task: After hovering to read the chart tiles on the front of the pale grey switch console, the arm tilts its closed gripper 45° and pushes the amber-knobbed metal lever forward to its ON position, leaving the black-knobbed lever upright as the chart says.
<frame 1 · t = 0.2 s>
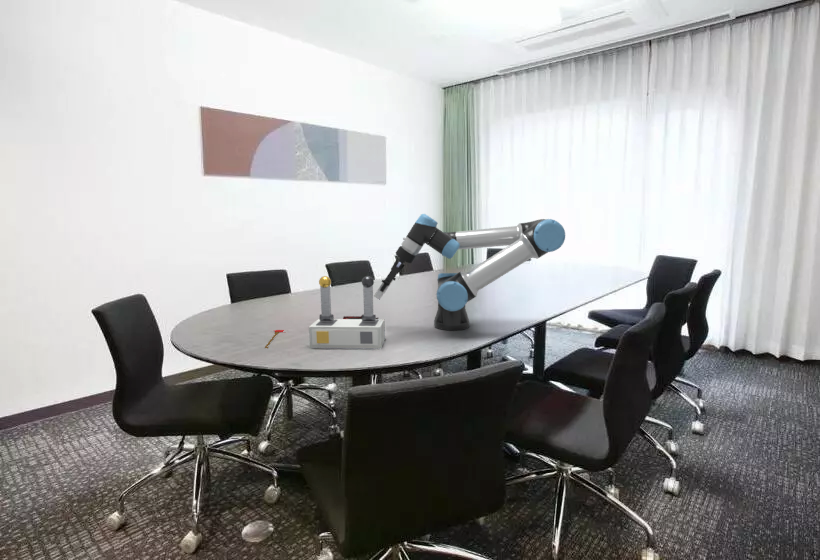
hand: (379, 294, 177), 16 cm above the table, tool tilted 35°, fingers open, 13 cm apart
lever amber: (325, 298, 164), point 17 cm above the table, hinge at 0.0°
submachine gun: (345, 328, 192), on the table
lever black: (368, 298, 163), point 17 cm above the table, hinge at 0.0°
axe: (269, 340, 175), on the table
console: (348, 343, 166), on the table
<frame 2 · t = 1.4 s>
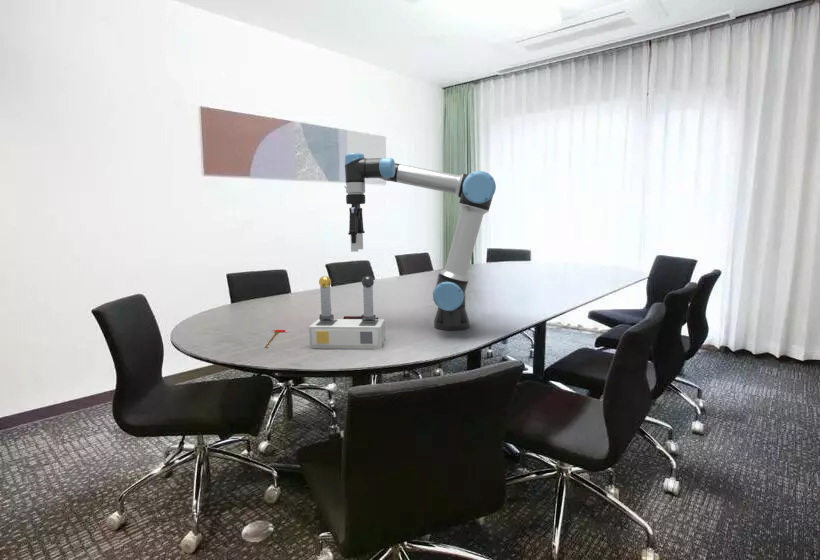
hand: (357, 250, 178), 34 cm above the table, tool pointing down, fingers open, 10 cm apart
nothing on the table moved.
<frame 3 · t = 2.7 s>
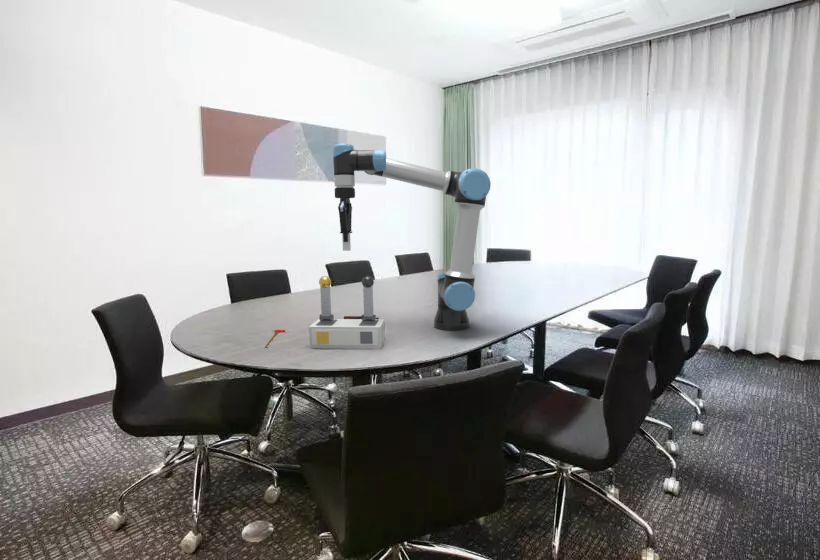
hand: (346, 250, 168), 35 cm above the table, tool pointing down, fingers closed
nothing on the table moved.
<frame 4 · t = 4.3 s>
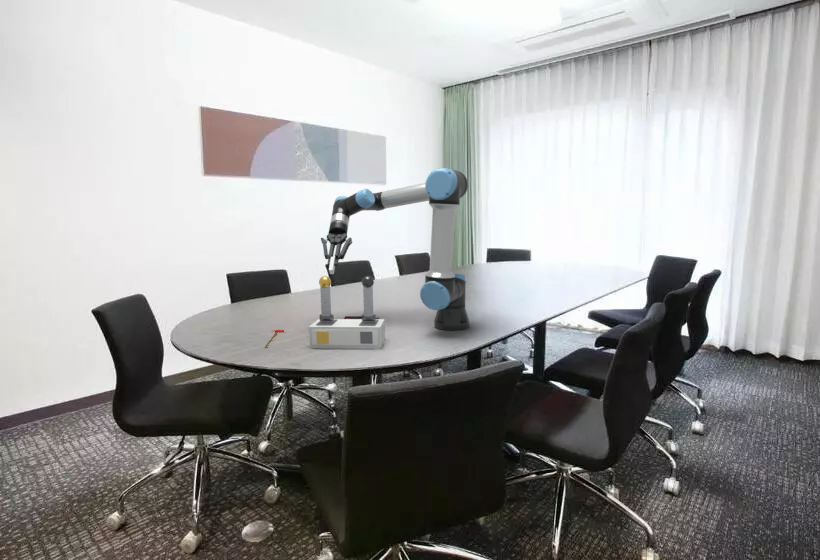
hand: (331, 271, 171), 26 cm above the table, tool tilted 45°, fingers closed
nothing on the table moved.
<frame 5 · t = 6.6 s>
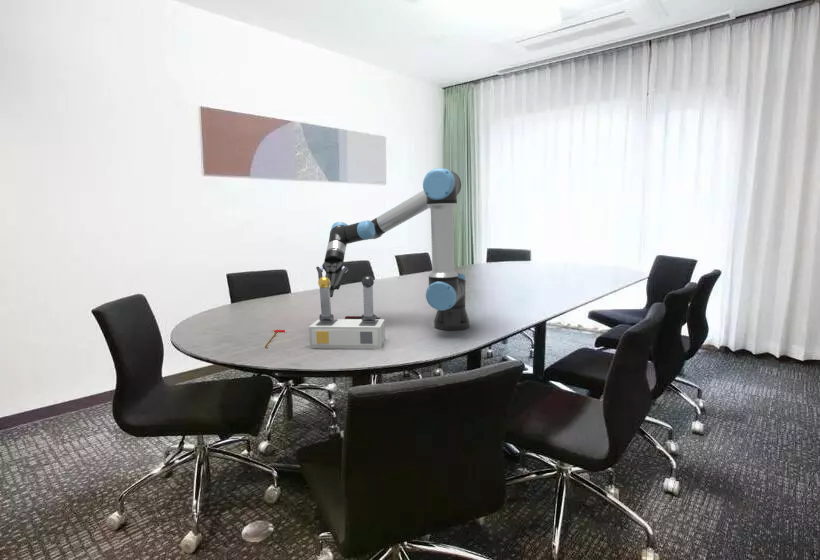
hand: (325, 303, 166), 15 cm above the table, tool tilted 45°, fingers closed
lever amber: (325, 298, 164), point 17 cm above the table, hinge at 4.6°, touching gripper
everything else where it was.
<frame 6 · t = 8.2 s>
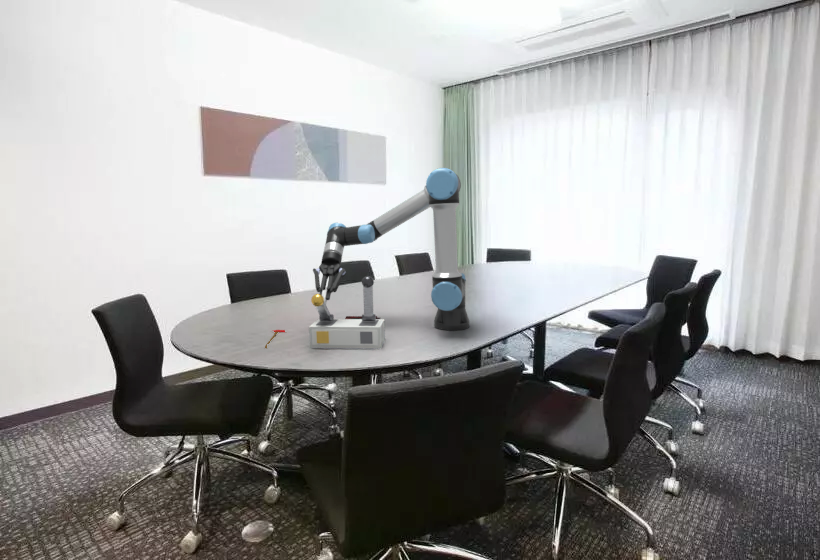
hand: (322, 306, 161), 15 cm above the table, tool tilted 45°, fingers closed
lever amber: (321, 308, 159), point 15 cm above the table, hinge at 49.7°, touching gripper
everything else where it was.
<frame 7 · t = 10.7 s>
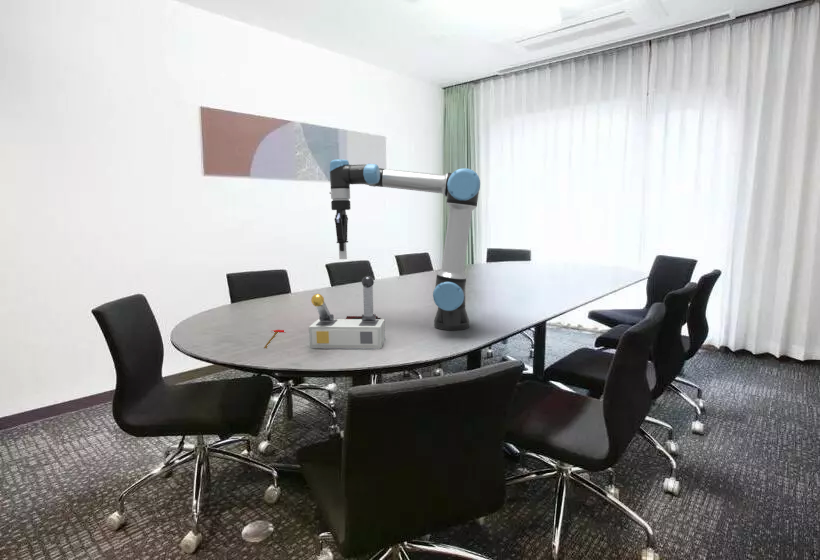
hand: (343, 259, 179), 30 cm above the table, tool pointing down, fingers closed
lever amber: (321, 308, 159), point 15 cm above the table, hinge at 49.8°
everything else where it was.
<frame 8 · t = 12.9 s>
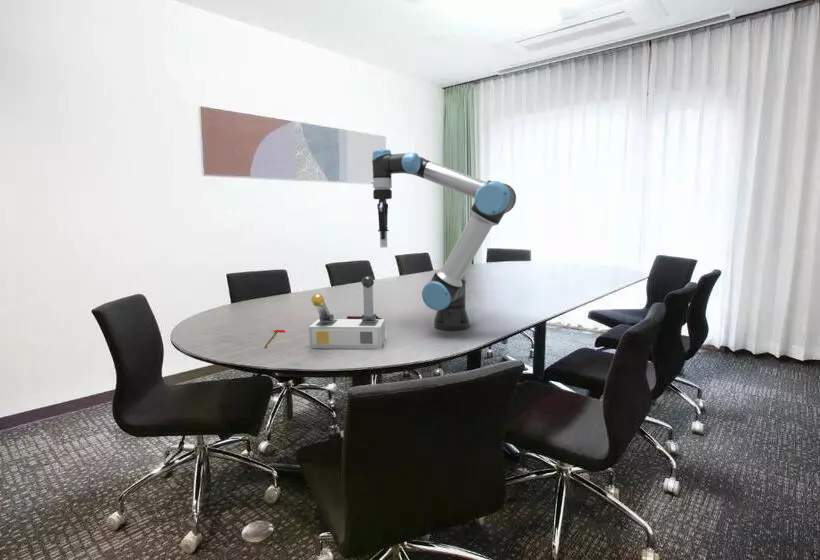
hand: (383, 247, 183), 34 cm above the table, tool pointing down, fingers closed
at the end: lever amber at +50° (first picture: +0°); lever black at +0° (first picture: +0°) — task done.
